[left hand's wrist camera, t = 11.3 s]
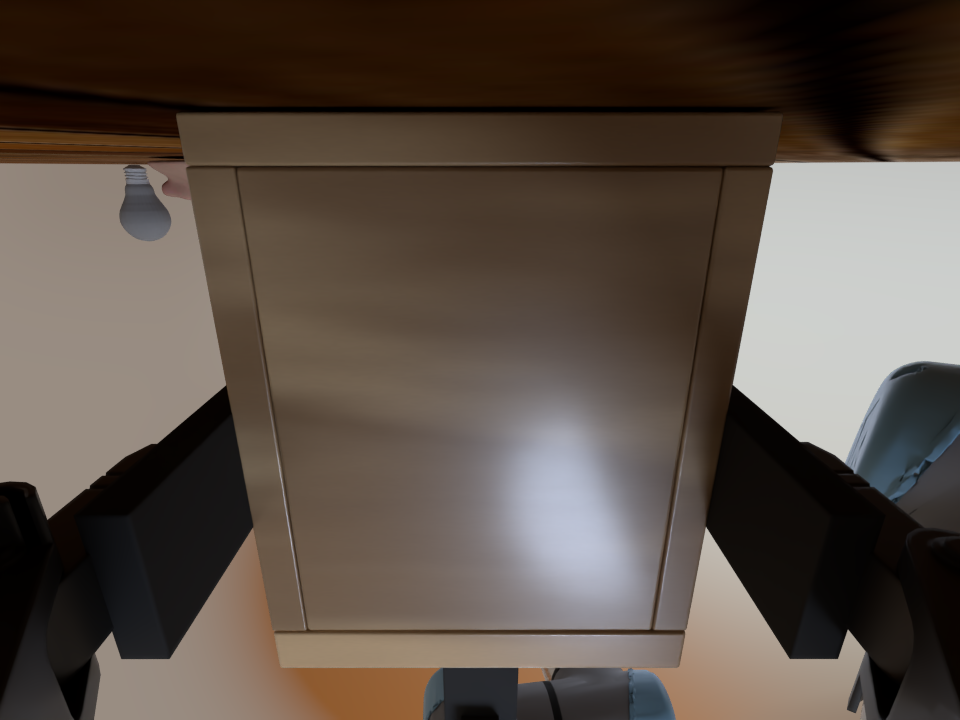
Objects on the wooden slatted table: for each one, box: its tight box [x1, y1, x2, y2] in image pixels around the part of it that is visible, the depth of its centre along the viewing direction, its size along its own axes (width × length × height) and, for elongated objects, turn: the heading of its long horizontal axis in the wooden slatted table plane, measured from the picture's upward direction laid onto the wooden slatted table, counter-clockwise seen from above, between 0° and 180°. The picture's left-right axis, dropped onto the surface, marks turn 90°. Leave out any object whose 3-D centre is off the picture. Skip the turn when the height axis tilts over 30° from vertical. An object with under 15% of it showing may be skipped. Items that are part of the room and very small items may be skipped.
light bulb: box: [120, 165, 171, 241], centre depth 70 cm, size 6×6×10 cm
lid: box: [274, 627, 685, 668], centre depth 20 cm, size 14×10×9 cm
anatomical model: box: [148, 160, 191, 200], centre depth 43 cm, size 13×4×12 cm
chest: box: [176, 112, 783, 631], centre depth 16 cm, size 13×10×11 cm
